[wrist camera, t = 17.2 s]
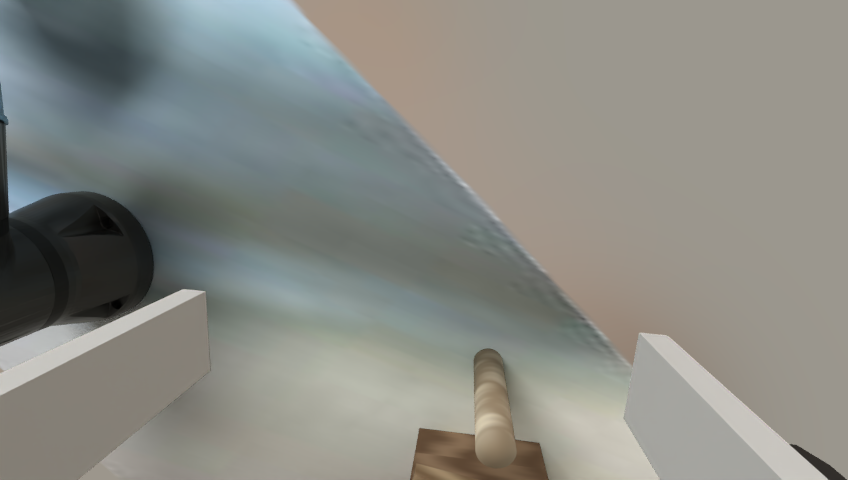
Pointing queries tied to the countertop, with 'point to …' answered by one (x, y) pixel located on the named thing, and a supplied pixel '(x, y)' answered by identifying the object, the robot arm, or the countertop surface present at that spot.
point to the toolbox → (475, 457)
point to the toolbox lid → (436, 474)
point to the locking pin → (492, 412)
